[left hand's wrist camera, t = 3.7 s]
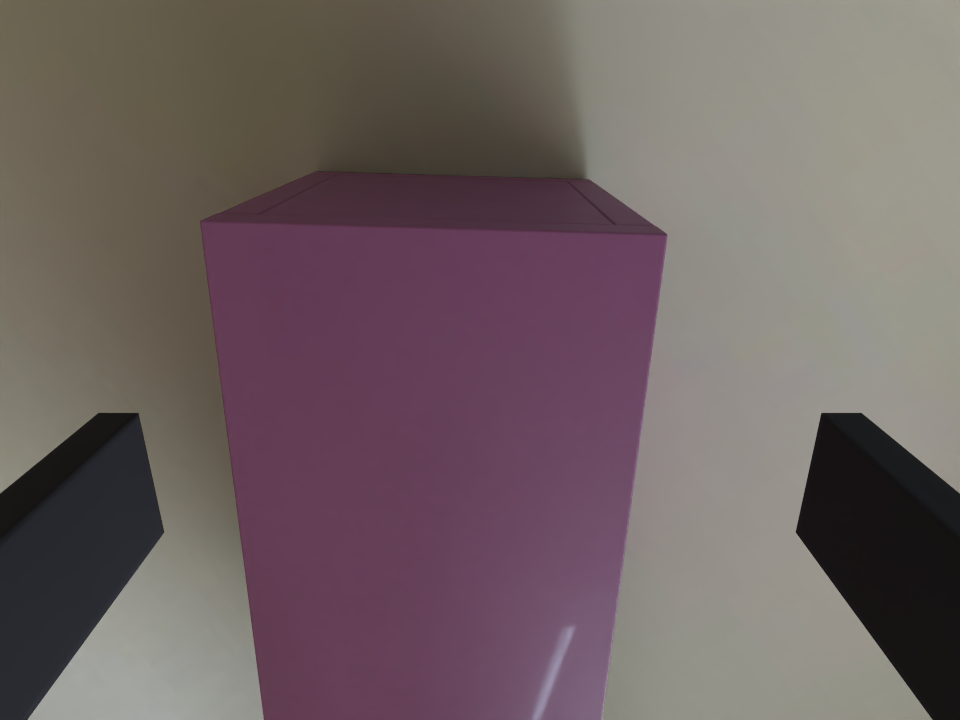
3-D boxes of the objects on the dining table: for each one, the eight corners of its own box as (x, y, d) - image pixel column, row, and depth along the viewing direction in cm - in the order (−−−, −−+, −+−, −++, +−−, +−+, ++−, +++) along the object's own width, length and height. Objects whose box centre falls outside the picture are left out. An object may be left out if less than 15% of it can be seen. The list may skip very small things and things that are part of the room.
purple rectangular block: (554, 585, 35) (590, 811, 24) (340, 580, 35) (274, 806, 24) (590, 179, 27) (668, 233, 16) (314, 170, 27) (199, 220, 16)
